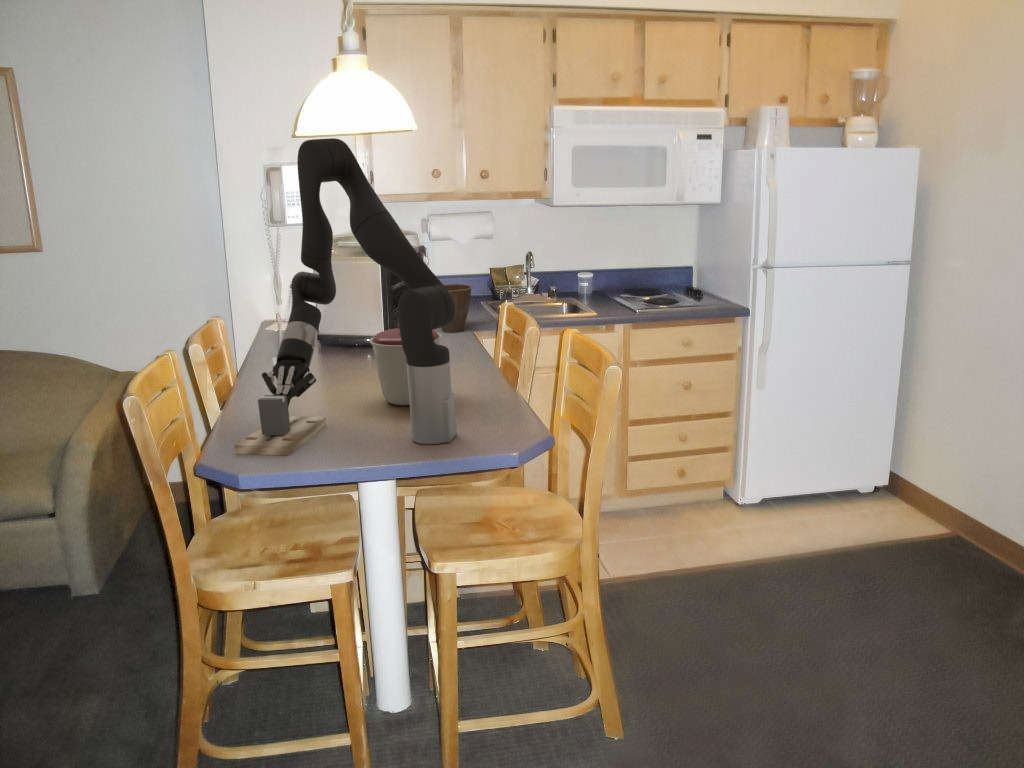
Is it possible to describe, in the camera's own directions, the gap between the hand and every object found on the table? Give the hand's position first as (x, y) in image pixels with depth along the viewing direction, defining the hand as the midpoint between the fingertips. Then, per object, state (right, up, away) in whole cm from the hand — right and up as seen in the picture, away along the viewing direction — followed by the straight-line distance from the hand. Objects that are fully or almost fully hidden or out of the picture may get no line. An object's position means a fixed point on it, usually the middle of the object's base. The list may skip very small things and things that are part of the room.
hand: (279, 411), depth 172 cm
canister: (+25, +2, +28) cm, 38 cm away
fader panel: (0, -6, +2) cm, 6 cm away
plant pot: (+30, +25, +113) cm, 119 cm away
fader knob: (0, -4, -1) cm, 5 cm away
